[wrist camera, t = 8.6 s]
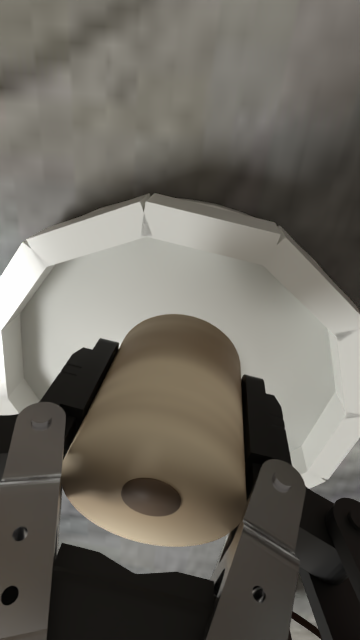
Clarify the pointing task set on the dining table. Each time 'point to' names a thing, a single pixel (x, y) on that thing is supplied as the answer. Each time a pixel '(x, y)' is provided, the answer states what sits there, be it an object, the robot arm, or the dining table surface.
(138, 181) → the dining table surface
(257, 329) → the grooved tray
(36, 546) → the robot arm
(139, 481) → the birch bead
